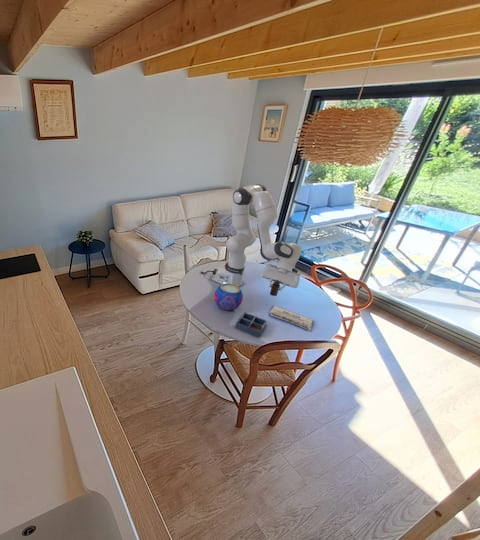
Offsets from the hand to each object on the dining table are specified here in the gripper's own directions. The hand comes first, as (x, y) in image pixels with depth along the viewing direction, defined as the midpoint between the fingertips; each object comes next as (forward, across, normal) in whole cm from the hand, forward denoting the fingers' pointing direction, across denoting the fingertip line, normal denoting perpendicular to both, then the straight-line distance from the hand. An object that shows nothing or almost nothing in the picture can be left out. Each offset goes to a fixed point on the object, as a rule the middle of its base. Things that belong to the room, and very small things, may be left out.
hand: (274, 288), depth 170 cm
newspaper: (+10, +12, +18) cm, 24 cm away
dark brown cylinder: (+3, 0, +4) cm, 4 cm away
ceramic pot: (+21, -23, +7) cm, 32 cm away
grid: (+27, -3, +1) cm, 27 cm away
